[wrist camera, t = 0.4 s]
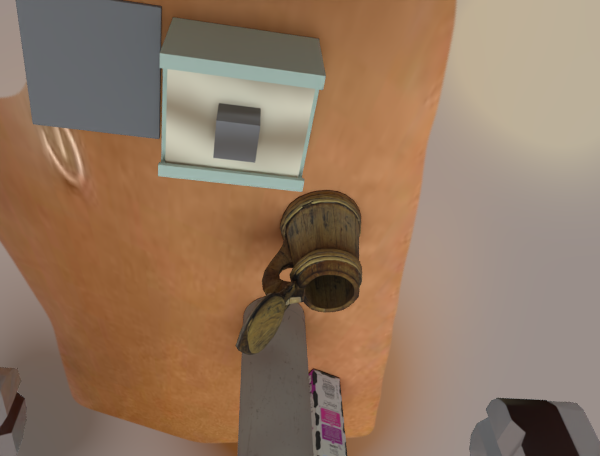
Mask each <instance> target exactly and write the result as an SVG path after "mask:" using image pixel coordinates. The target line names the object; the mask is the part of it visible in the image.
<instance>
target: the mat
mask: <svg viewBox="0 0 600 456" xmlns="http://www.w3.org/2000/svg"><path fill="white" fill-rule="evenodd" d="M16 7H17V13H18V21H19V27H20V35H21V42H22V49H23V57H24V63H25V71H26V78H27V85H28V92H29V99H30V107H31V114H32V121H33V124H36V125H45V126H53V127H62V128H70V129H79V130H87V131H96V132H104V133H112V134H121V135H129V136H138V137H146V138H155V139H159V138H160V78H161V68H160V51H161V9H162V6H156V5H149V4H143V3H136V2H129V1H123V0H16Z"/></svg>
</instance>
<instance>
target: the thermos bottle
mask: <svg viewBox="0 0 600 456" xmlns="http://www.w3.org/2000/svg"><path fill="white" fill-rule="evenodd" d="M263 298H264V297H263ZM261 299H262V298H260V299H257V300H255V301H254V302H252V303H251V304H250V305H249V306H248V307H247V308H246V310H245V312H244V317H243V325H244V323H245V321H246V319H247V317H248V316H249V314H250V312H251V311H252V309H253V308H254V307H255V306H256V304H257V303H258V302H259V301H260V300H261ZM238 456H314V452H313V438H312V418H311V404H310V389H309V374H308V359H307V345H306V330H305V316H304V311H303V309H302V307H301V306H300V305H299V304H298V303H293V304H291V305H290V306H289V307H288V308H287V309H286V311H285V312H284V315H283V318H282V321H281V324H280V326H279V328H278V330H277V332H276V334H275V335H274V337H273V338H272V339H271V341H270V342H269V343H268V344H267V346H266V347H265V348H264V349H263V350H261V351H260V352H259V353H257V354H253V355H247V354H244V353H242V364H241V388H240V412H239V435H238Z"/></svg>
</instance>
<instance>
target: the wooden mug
mask: <svg viewBox="0 0 600 456" xmlns="http://www.w3.org/2000/svg"><path fill="white" fill-rule="evenodd" d="M280 230H281V234H282V237H283V240H284V242H283V246H282V247H281V249H280V250H279V252H278V253H277V254H276V256H275V257H274V258H273V259H272V261H271V262H270V263H269V265H268V267H267V268H266V270H265V272H264V275H263V279H262V285H263V290H264V292H265V294H266V296H265V297H264V298H262V299H261V300H260V301H259V302H258V303H257V304H256V306H255V307H254V308H253V309H252V311H251V312H250V314H249V316H248V317H247V319H246V321H245V323H244V325H243V327H242V329H241V331H240V334H239V337H238V341H237V344H236V347H237V349H238V350H239V351H241V352H242V353H244V354H247V355H253V354H257V353H259V352H260V351H261V350H263V349H264V348H265V347H266V346H267V344H268V343H269V342H270V341H271V339H272V338H273V337H274V335H275V334H276V332H277V330H278V328H279V326H280V324H281V321H282V318H283V315H284V312H285V311H286V309H287V308H288V307H289V306H290V305H291V304H293V303H299V302H304V303H305V304H306V305H307V306H308V307H309V308H311V309H312V310H315V311H318V312H336V311H340V310H344V309H345V308H347V307H349V306H350V305H351V304H352V303H354V302H355V300H356V299H357V298H358V296H359V288H360V285H361V282H362V266H361V264H360V261H359V237H360V233H361V214H360V210H359V208H358V206H357V205H356V203H355V202H354V201H353V200H352V199H350V198H349V197H348V196H346V195H344V194H342V193H340V192H336V191H329V190H326V191H316V192H312V193H309V194H306V195H304V196H301V197H299V198H297V199H296V200H295V201H294V202H292V203H291V204H290V205H289V206H288V208H287V210H286V211H285V213H284V215H283V218H282V221H281V225H280ZM287 268H293V269H292V271H291V273H290V279H291V282H287V281H283V280H281V279H280V278H279V274H280V273H281V272H282V270H285V269H287Z"/></svg>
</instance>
